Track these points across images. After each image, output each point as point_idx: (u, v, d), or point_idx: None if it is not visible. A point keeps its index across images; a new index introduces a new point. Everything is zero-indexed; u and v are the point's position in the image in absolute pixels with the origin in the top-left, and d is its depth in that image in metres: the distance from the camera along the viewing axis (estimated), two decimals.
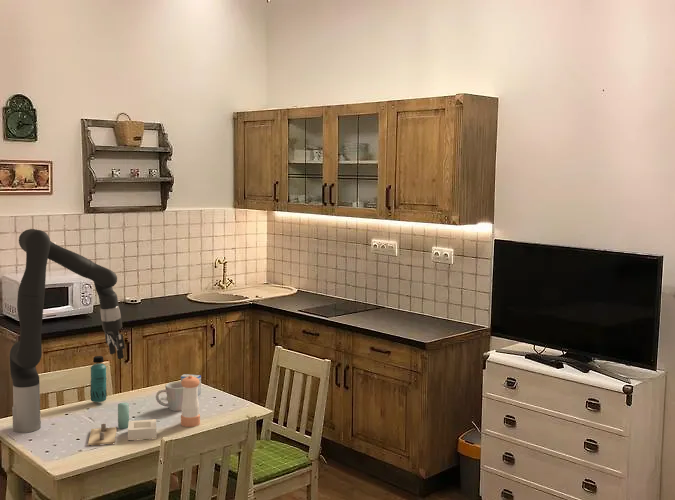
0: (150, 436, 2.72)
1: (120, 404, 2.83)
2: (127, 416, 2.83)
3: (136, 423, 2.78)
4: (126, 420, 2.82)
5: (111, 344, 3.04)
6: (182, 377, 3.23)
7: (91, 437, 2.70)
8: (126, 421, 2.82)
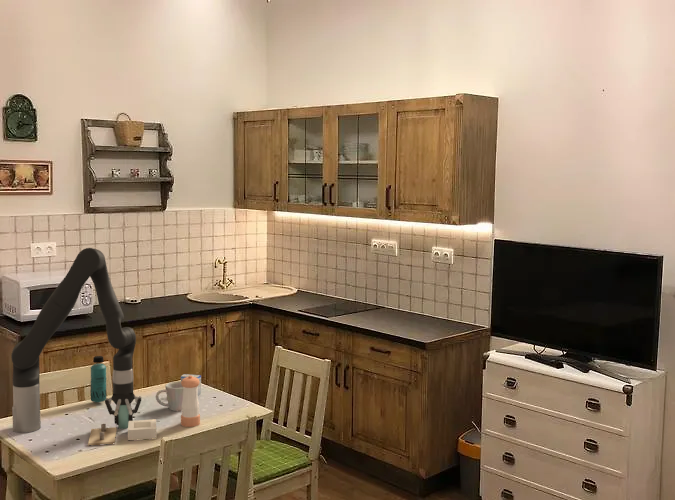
0: (150, 436, 2.72)
1: None
2: (127, 416, 2.83)
3: (136, 423, 2.78)
4: (126, 420, 2.82)
5: (129, 412, 2.84)
6: (182, 377, 3.23)
7: (91, 437, 2.70)
8: (126, 421, 2.82)
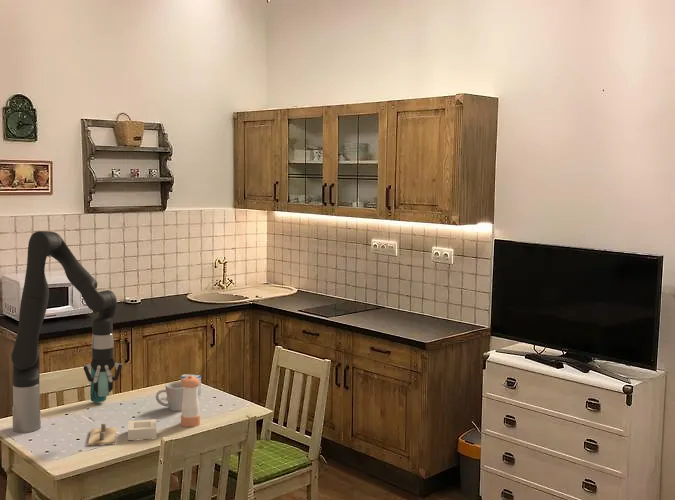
0: (150, 436, 2.72)
1: None
2: (107, 383, 2.70)
3: (136, 423, 2.78)
4: (106, 387, 2.70)
5: None
6: (182, 377, 3.23)
7: (91, 437, 2.70)
8: (106, 388, 2.70)
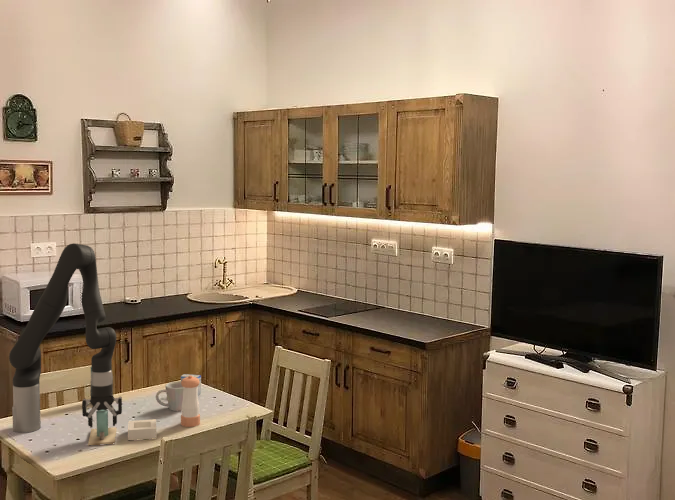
0: (150, 436, 2.72)
1: (99, 411, 2.71)
2: (106, 424, 2.71)
3: (136, 423, 2.78)
4: (105, 428, 2.71)
5: (113, 414, 2.73)
6: (182, 377, 3.23)
7: (91, 437, 2.70)
8: (105, 429, 2.71)
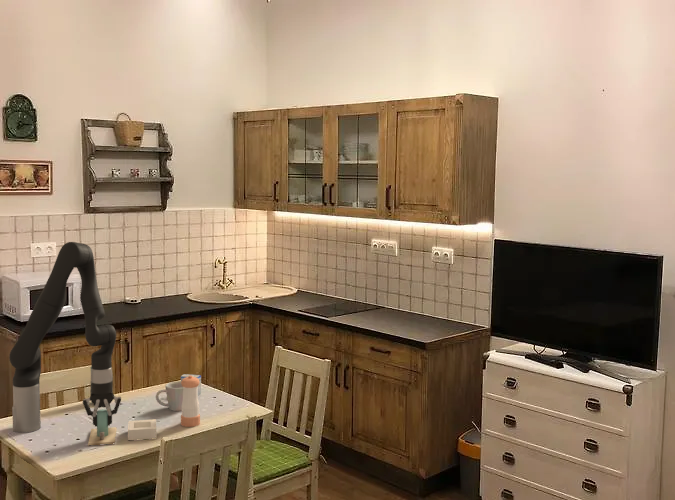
0: (150, 436, 2.72)
1: (99, 411, 2.71)
2: (106, 424, 2.71)
3: (136, 423, 2.78)
4: (105, 428, 2.71)
5: (108, 413, 2.72)
6: (182, 377, 3.23)
7: (91, 437, 2.70)
8: (105, 429, 2.71)
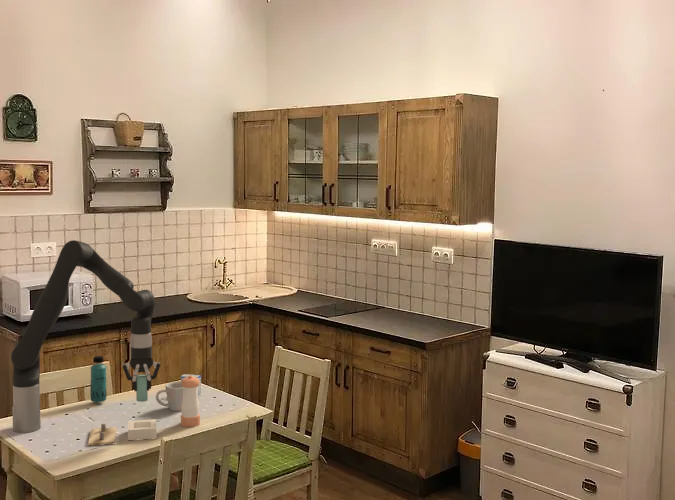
0: (150, 436, 2.72)
1: (138, 376, 2.73)
2: (146, 388, 2.73)
3: (136, 423, 2.78)
4: (145, 392, 2.73)
5: (147, 378, 2.74)
6: (182, 377, 3.23)
7: (91, 437, 2.70)
8: (145, 393, 2.73)
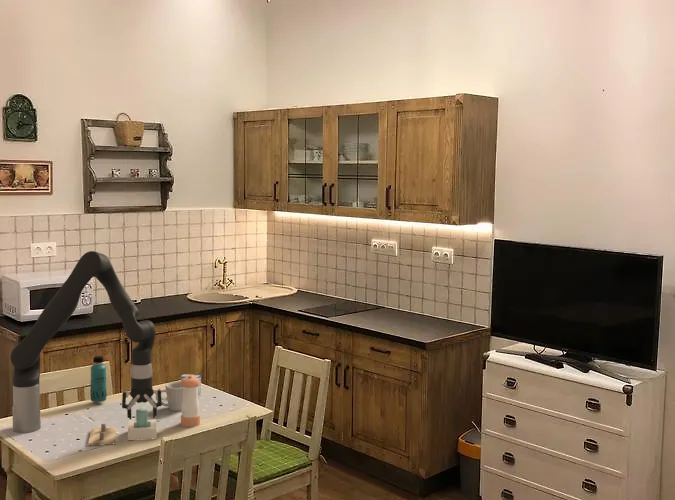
0: (150, 436, 2.72)
1: (138, 410, 2.75)
2: (146, 422, 2.75)
3: None
4: None
5: (153, 406, 2.76)
6: (182, 377, 3.23)
7: (91, 437, 2.70)
8: None
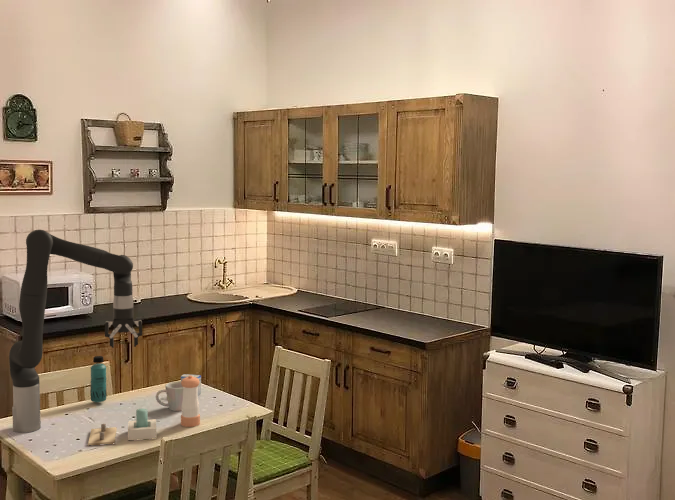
0: (150, 436, 2.72)
1: (138, 410, 2.75)
2: (146, 422, 2.75)
3: None
4: None
5: None
6: (182, 377, 3.23)
7: (91, 437, 2.70)
8: None
